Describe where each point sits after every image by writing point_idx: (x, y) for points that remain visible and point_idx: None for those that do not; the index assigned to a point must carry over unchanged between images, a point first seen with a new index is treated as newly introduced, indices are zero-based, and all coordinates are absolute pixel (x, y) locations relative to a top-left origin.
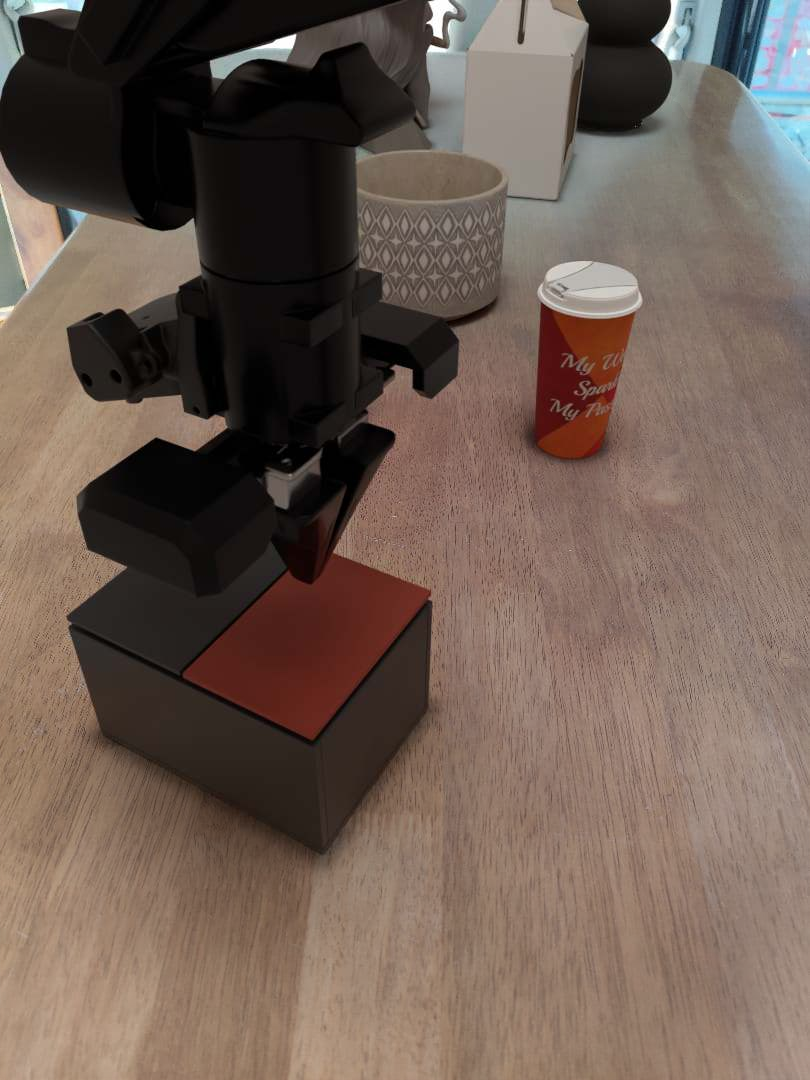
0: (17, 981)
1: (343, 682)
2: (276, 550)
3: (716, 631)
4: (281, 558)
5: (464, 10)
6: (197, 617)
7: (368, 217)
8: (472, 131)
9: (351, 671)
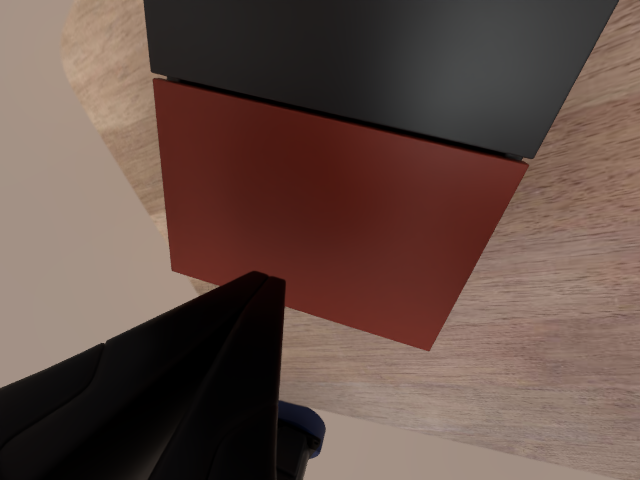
0: (77, 11)
1: None
2: (184, 303)
3: (553, 425)
4: (208, 292)
5: None
6: (255, 26)
7: None
8: None
9: None
